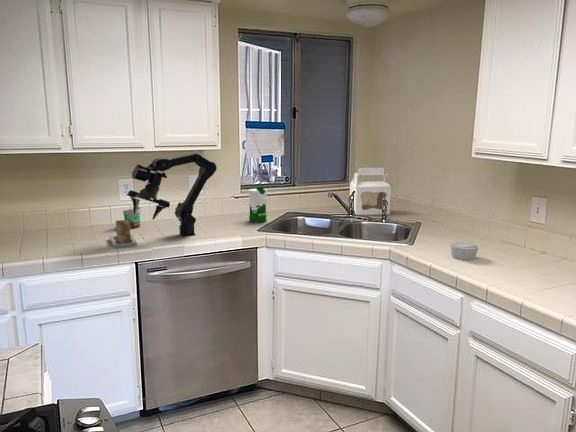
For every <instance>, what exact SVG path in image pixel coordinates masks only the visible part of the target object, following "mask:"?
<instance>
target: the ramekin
mask: <svg viewBox="0 0 576 432" xmlns="http://www.w3.org/2000/svg"><path fill="white" fill-rule="evenodd" d="M449 247H450V255H451V257H452V258H453V259H455V260H462V261H471V260H472V261H473V260H474V259H476V257H477V253H478V250H479V246H478V245H477V244H474V243H472V242H471V243H470V242H466V241H465V242H462V241H457V242H456V241H455V242H452V243H450V244H449Z"/></svg>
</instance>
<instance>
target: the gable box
mask: <svg viewBox="0 0 576 432" xmlns="http://www.w3.org/2000/svg"><path fill="white" fill-rule="evenodd" d="M359 176H360V177H361V176H382V181H381V180H380V181H379V180H378V181H377V180H376V181H375V180H374V181H359ZM388 176H389V175H388V172H385V168H384V167H358V168H357V171H356V172H354V173H353V176H352V177H353V178H352V180H351V182H350V183H349V196H350V195H351V194H352V192H353V191H355V193H354V211H355V214H356V215H355V216H373V215H375V216H378V215H382V198H385V199H386V200H387V202H388V206H387V214H386V215H390V213H391V196H392V193H391V191H392V186H391V185H392V184H391V182H390V180H389V177H388ZM366 192H368V193H378V195H377V197H376V204H375V205H371V204H363V202H362V197H361V196H362V193H366Z"/></svg>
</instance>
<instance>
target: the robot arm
mask: <svg viewBox="0 0 576 432" xmlns="http://www.w3.org/2000/svg"><path fill="white" fill-rule="evenodd" d="M191 163H195V165H197V167H199V169H198V175H197V178H196V180H195V182H194V183H193V184H192V186H191V188H190V190H189V192H188V194H187V195H186V197H185V200H184V201H183V202H180V201H179V202H178V203H177V206H176V207H175V208H174V210H175V211H174V215H175V217H176V218H177V220H178V222H179V225H178V232H179V235H181V236H182V237H188V236H189V237H190V236H196V233H195V224H196V221H197V219H196V217H194V216H193V215H192V214H193V211H194V205H195V203H196V202H197V200H198V198H199V195H200V194H201V192H202V190H203V189H204V187H205V185H206V183H207V181H208V180H209V179H210V178H211V177H213V175H214V174H215V172H216V171H217V168H218V167H217V165H216V163H215V162H213V161H210V160H208V159H207V158H205V157H203V156H202V155H200V153H196V152H193V153H190V154H183V155H180V156H175V157H169V158H168V157H167V158H166V157H162V158H161V157H160V158H159V157H157V158H156V157H155V158H154V159H153V160H152V161H151V163H150V164H149V165H148V166H143V165H141V164H136V166H135V167H134V169H133V170H132V173H131V178H132V179H134V180H138V181H141V182H143V183H145V182H146V181H147V184H145V186H144V187H143V188H141V190H140V191H139V192H138V191H135V190H132V189H131V190H130V189H129V191H128V193H127V196H128V197H129V199H131V201H132V204H133V206H132V209H134V214H135V213H136V211H137V208H138V207H139V205H140V201H141V199H142V200H144V201H149V202H150V203H151V202H152V203H154V204H155V203H156V207H155V211H154V214H153V215H152V220H155V219H156V218H157V216H158V215H159V214H160V213H161V212H162V211H163V209H167V208H169V207H170V206H171V203H170V201H168V200H165V199H161V198H159V199H158V197H157V196H158V193H159V191H160V188H161V187H160V186H161V184H162V180H163V178H164V179H167V178H168V175H166V172H165V171H168V170H170V169H172V168H173V167H177V166H181V165H186V164H191ZM157 204H158V205H157Z"/></svg>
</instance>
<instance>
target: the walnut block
mask: <svg viewBox="0 0 576 432" xmlns="http://www.w3.org/2000/svg"><path fill="white" fill-rule="evenodd" d="M115 227H116V236H117V244H122V243H131V236H130V234H131V229H130V221H128V220H125V219H120V220H115Z"/></svg>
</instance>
